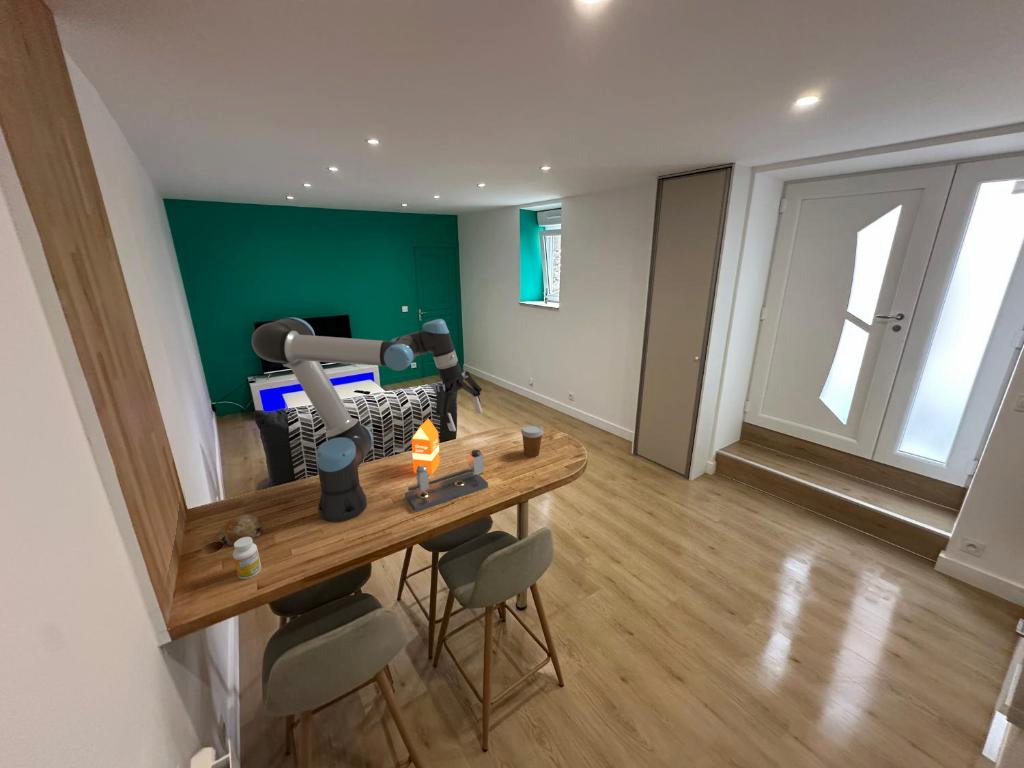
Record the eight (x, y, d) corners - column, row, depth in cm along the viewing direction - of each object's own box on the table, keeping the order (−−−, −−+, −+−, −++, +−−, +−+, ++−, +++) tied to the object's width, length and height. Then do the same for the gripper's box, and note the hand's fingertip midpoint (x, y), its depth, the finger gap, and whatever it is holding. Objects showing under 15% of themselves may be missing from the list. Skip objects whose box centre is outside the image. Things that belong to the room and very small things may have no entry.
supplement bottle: (239, 568, 107) (232, 538, 104) (262, 562, 110) (256, 532, 107) (236, 582, 103) (228, 551, 100) (260, 575, 105) (253, 545, 102)
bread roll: (251, 554, 117) (260, 532, 116) (211, 548, 113) (220, 524, 112) (261, 533, 126) (269, 512, 125) (224, 526, 122) (232, 504, 121)
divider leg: (474, 479, 146) (474, 455, 143) (469, 474, 149) (468, 451, 146) (483, 476, 148) (483, 452, 145) (478, 471, 151) (478, 448, 148)
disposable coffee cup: (541, 460, 167) (542, 434, 163) (518, 458, 169) (519, 432, 165) (543, 450, 176) (544, 425, 172) (522, 448, 178) (523, 423, 174)
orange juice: (439, 463, 163) (437, 418, 157) (432, 474, 155) (429, 427, 149) (421, 461, 165) (419, 417, 159) (413, 472, 156) (410, 425, 150)
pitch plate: (415, 512, 132) (413, 478, 128) (405, 498, 140) (402, 465, 136) (487, 487, 147) (487, 455, 143) (474, 475, 155) (474, 445, 151)
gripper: (426, 379, 122) (447, 439, 129) (480, 351, 140) (496, 406, 146) (412, 379, 127) (433, 437, 134) (466, 352, 145) (482, 405, 151)
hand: (466, 421), depth 140 cm, fingers open, 13 cm apart
